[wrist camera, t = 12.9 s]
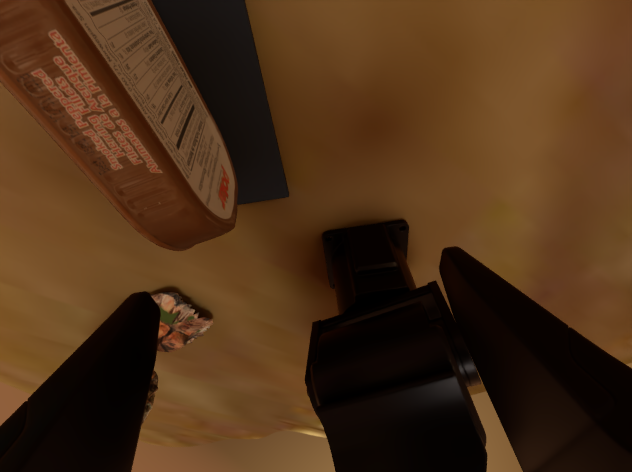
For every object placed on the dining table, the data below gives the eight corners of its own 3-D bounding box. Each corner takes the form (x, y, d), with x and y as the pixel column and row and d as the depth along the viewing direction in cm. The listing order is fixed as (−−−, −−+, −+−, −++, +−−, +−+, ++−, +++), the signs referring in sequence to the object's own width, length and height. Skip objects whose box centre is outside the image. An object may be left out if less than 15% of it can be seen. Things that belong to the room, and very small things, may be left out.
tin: (-21, -169, 11) (-416, -311, 5) (58, -213, 11) (-265, -433, 4) (208, 186, 21) (176, 291, 15) (253, 172, 20) (241, 274, 14)
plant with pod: (71, 313, 29) (-147, 699, 14) (182, 279, 27) (61, 684, 12) (134, 354, 34) (22, 666, 20) (231, 328, 32) (187, 652, 18)
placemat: (288, 193, 22) (288, 197, 22) (145, 214, 23) (143, 219, 22) (150, -414, 9) (144, -430, 8) (-198, -338, 9) (-218, -349, 9)
